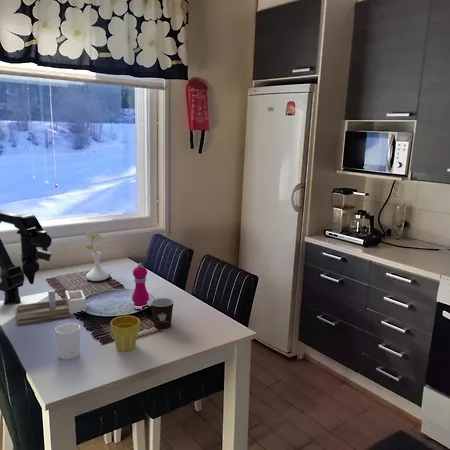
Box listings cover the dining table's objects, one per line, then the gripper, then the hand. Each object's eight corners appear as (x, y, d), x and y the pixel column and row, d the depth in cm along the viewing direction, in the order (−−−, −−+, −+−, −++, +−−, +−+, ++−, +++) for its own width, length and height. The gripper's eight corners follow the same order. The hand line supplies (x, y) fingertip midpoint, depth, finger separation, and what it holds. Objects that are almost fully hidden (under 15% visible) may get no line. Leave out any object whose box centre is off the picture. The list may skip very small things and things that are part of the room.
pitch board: (16, 309, 187) (16, 302, 186) (65, 302, 195) (64, 296, 195) (17, 325, 172) (16, 318, 171) (70, 317, 180) (69, 310, 180)
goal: (66, 305, 192) (65, 290, 191) (82, 302, 195) (81, 288, 194) (69, 314, 183) (68, 299, 182) (86, 311, 186) (85, 296, 185)
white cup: (60, 349, 155) (58, 323, 153) (83, 349, 156) (82, 322, 153) (54, 361, 147) (52, 333, 145) (78, 360, 148) (76, 333, 146)
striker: (48, 306, 187) (47, 288, 186) (55, 305, 188) (53, 287, 187) (50, 312, 182) (49, 293, 180) (56, 311, 183) (55, 293, 181)
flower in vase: (114, 278, 227) (112, 230, 222) (96, 284, 218) (94, 235, 212) (96, 273, 234) (94, 227, 228) (79, 279, 224) (76, 231, 219)
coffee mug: (177, 323, 177) (177, 299, 175) (167, 332, 169) (167, 308, 167) (151, 318, 181) (150, 295, 179) (140, 327, 173) (140, 303, 171)
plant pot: (146, 347, 158) (145, 321, 156) (121, 357, 151) (120, 330, 148) (130, 337, 165) (129, 312, 163) (105, 346, 158) (104, 320, 156)
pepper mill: (145, 311, 188) (144, 266, 183) (129, 309, 189) (128, 265, 185) (151, 305, 195) (150, 261, 190) (136, 303, 196) (135, 260, 192)
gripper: (51, 248, 179) (53, 285, 182) (47, 237, 195) (49, 271, 199) (21, 251, 174) (24, 289, 178) (19, 240, 190) (22, 274, 194)
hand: (31, 280), depth 187 cm, fingers open, 9 cm apart
